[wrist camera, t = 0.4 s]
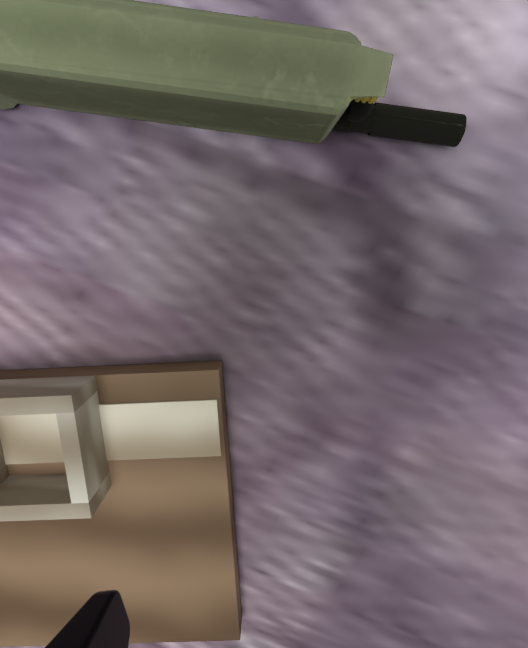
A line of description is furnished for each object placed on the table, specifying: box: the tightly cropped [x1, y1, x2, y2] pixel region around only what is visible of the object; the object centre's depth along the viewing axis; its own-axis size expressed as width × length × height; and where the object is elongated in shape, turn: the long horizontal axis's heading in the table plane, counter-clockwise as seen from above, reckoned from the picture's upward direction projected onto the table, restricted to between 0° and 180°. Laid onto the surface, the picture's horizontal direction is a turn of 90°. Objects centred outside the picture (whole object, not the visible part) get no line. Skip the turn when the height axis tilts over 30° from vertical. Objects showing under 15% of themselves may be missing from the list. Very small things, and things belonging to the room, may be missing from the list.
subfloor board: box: [0, 360, 242, 647], centre depth 22 cm, size 16×23×4 cm
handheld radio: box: [0, 0, 466, 147], centre depth 16 cm, size 7×3×25 cm
